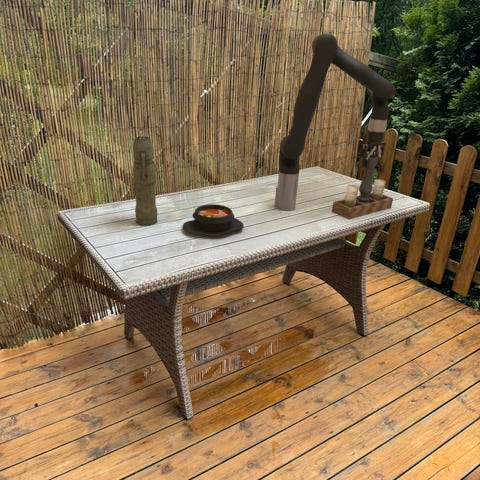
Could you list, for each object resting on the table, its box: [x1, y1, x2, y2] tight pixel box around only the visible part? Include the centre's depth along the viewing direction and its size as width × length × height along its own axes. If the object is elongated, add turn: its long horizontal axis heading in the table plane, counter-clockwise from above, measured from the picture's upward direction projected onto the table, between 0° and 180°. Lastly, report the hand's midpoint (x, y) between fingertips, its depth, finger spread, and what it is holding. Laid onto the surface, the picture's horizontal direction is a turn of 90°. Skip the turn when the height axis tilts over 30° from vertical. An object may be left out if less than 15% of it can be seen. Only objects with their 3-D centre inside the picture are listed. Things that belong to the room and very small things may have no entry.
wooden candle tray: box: [331, 178, 394, 220], centre depth 199 cm, size 30×10×13 cm, turn 124°
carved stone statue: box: [132, 136, 158, 227], centre depth 170 cm, size 9×12×35 cm
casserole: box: [182, 203, 244, 236], centre depth 172 cm, size 25×19×8 cm
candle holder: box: [357, 154, 378, 204], centre depth 196 cm, size 6×6×25 cm
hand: (370, 166), depth 192 cm, fingers open, 7 cm apart
